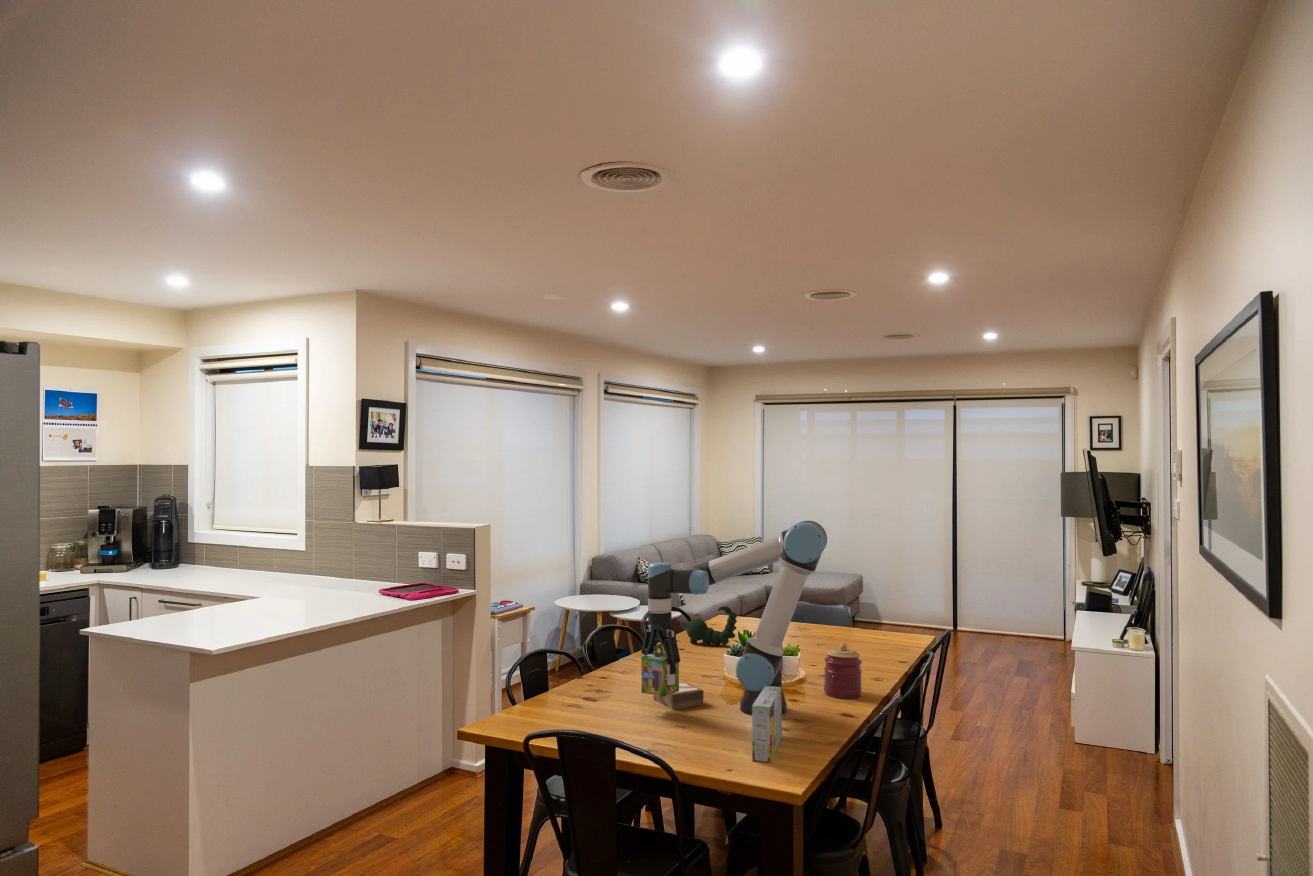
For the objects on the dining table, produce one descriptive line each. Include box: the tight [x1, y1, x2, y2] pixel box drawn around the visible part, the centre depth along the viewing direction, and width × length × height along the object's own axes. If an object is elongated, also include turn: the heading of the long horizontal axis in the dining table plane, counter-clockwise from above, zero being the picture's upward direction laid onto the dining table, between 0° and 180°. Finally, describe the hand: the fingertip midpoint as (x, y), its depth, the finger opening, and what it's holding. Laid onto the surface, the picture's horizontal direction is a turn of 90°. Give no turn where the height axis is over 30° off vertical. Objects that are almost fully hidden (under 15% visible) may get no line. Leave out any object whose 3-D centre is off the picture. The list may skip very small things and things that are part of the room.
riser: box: [653, 681, 704, 710], centre depth 274 cm, size 12×12×5 cm
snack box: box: [751, 686, 783, 764], centre depth 230 cm, size 21×6×15 cm, turn 163°
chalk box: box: [640, 643, 680, 696], centre depth 263 cm, size 9×9×15 cm
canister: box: [823, 642, 863, 700], centre depth 288 cm, size 13×13×18 cm
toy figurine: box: [680, 605, 738, 648], centre depth 364 cm, size 9×19×25 cm
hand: (660, 680), depth 263 cm, fingers closed on chalk box, 10 cm apart
